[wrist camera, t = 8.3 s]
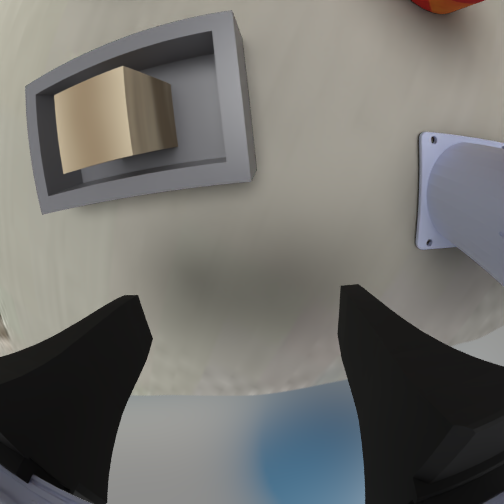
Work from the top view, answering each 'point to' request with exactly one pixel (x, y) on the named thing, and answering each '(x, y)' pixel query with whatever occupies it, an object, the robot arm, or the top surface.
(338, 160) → the top surface
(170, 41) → the grey rectangular open box
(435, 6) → the paper cup
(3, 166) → the top surface
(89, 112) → the birch block
